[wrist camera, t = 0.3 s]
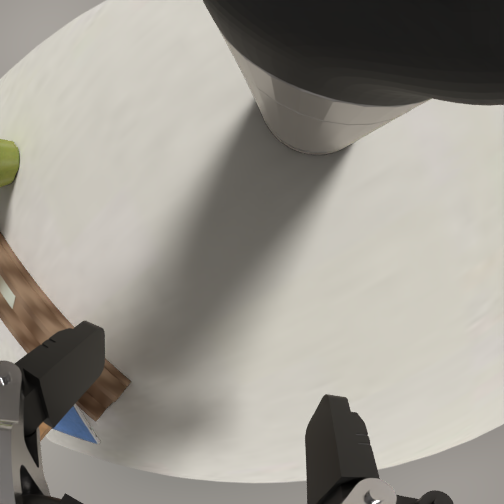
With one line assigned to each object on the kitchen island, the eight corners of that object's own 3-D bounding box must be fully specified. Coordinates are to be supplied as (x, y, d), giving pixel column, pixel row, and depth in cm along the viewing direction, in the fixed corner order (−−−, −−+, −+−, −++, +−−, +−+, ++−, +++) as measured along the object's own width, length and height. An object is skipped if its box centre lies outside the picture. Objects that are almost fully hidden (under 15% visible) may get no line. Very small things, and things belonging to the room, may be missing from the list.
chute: (131, 381, 33) (119, 397, 29) (105, 408, 35) (95, 422, 32) (-2, 229, 31) (-18, 234, 27) (-12, 273, 33) (-26, 279, 30)
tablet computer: (72, 391, 37) (68, 395, 35) (103, 442, 39) (100, 446, 38) (15, 375, 40) (12, 378, 39) (42, 421, 43) (39, 424, 41)
